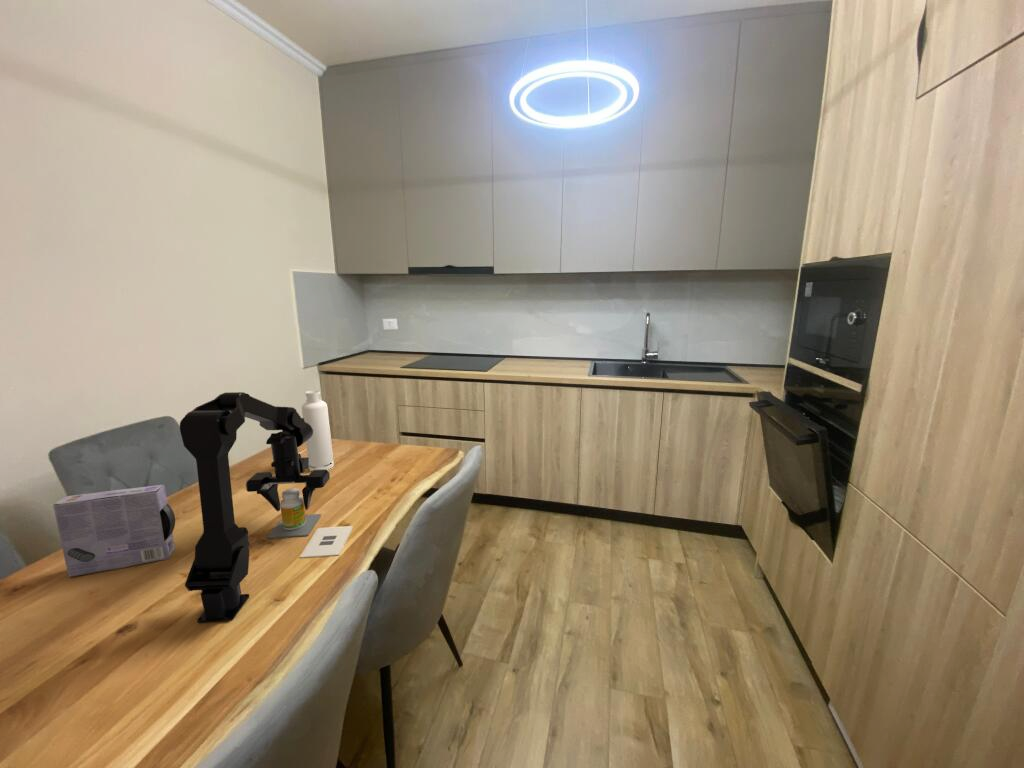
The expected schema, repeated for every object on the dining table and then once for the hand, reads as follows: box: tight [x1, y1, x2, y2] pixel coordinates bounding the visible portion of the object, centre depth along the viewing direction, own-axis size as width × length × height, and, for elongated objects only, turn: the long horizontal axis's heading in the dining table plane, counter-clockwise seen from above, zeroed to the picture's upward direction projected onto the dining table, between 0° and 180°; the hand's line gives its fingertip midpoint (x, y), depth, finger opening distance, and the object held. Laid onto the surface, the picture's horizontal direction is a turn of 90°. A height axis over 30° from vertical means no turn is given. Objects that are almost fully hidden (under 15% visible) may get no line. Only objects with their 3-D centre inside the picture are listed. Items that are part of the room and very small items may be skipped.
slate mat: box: [266, 513, 322, 540], centre depth 109 cm, size 10×10×1 cm
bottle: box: [301, 389, 335, 472], centre depth 142 cm, size 8×8×28 cm
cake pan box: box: [53, 484, 176, 578], centre depth 93 cm, size 19×5×18 cm, turn 111°
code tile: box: [299, 525, 354, 559], centre depth 102 cm, size 12×9×1 cm
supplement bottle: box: [280, 488, 306, 530], centre depth 107 cm, size 5×5×10 cm
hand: (293, 509), depth 107 cm, fingers open, 7 cm apart
